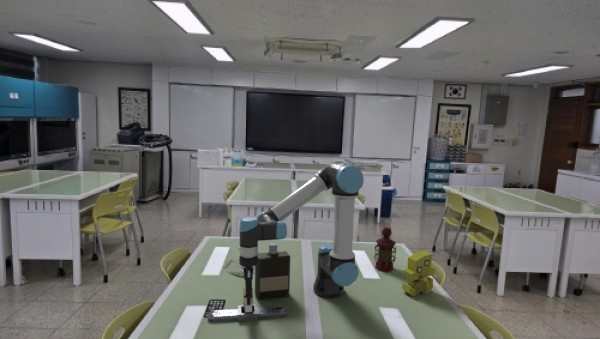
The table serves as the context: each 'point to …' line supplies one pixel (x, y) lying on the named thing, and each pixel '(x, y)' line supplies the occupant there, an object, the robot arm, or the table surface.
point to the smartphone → (214, 306)
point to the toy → (419, 273)
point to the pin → (244, 300)
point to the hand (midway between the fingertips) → (247, 303)
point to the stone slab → (239, 267)
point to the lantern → (385, 251)
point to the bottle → (272, 273)
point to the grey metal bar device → (246, 314)
